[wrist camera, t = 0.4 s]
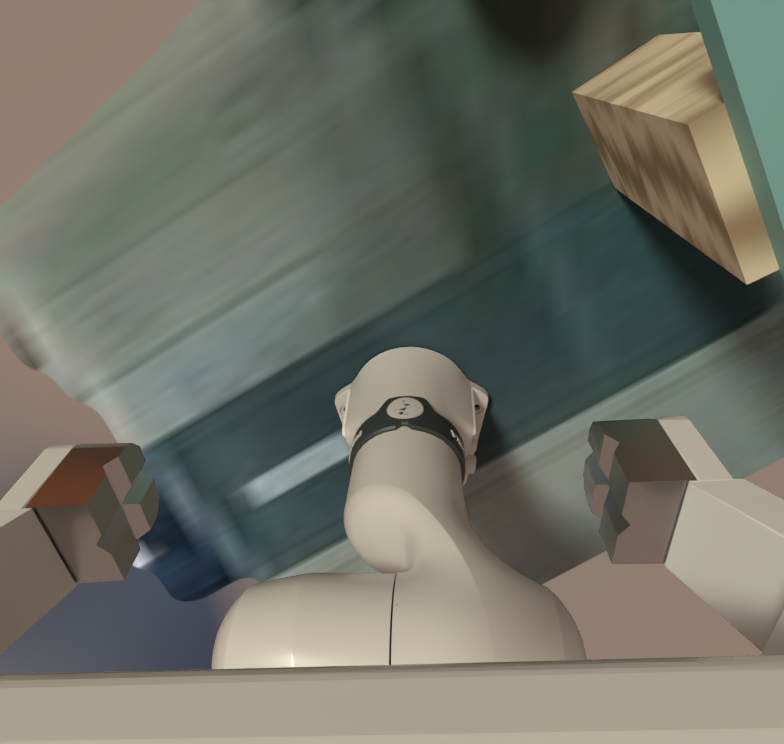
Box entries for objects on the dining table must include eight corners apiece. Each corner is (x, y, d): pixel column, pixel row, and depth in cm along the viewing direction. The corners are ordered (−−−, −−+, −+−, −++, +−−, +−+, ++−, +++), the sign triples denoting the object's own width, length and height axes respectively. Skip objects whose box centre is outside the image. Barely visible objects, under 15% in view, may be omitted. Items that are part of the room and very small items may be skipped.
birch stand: (697, 139, 51) (906, 208, 29) (614, 187, 54) (746, 284, 31) (658, 35, 47) (866, 19, 25) (571, 92, 50) (688, 124, 27)
